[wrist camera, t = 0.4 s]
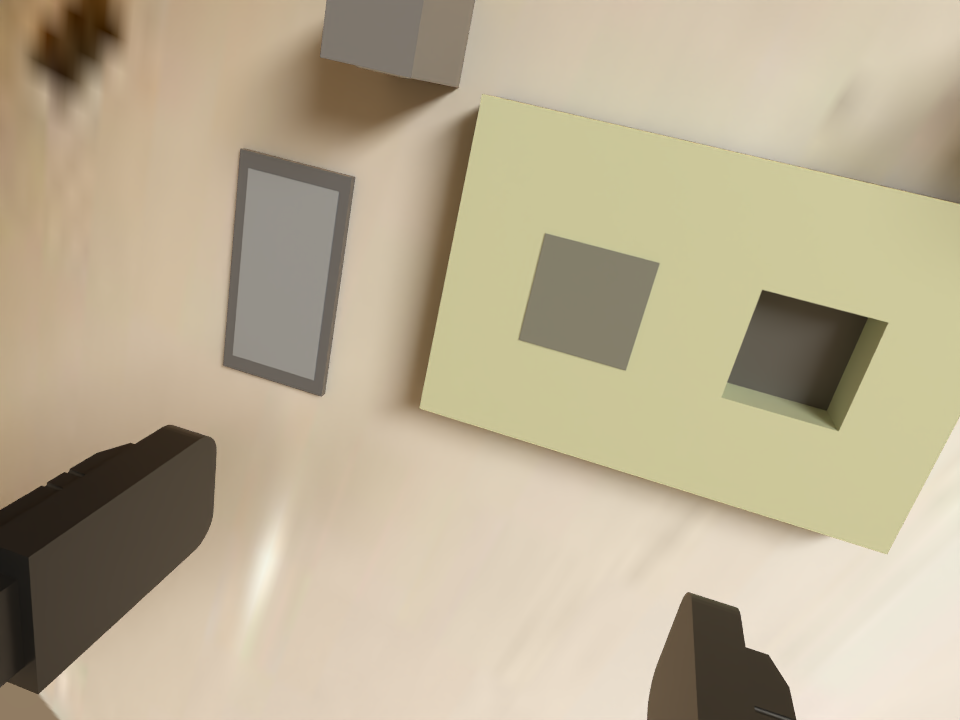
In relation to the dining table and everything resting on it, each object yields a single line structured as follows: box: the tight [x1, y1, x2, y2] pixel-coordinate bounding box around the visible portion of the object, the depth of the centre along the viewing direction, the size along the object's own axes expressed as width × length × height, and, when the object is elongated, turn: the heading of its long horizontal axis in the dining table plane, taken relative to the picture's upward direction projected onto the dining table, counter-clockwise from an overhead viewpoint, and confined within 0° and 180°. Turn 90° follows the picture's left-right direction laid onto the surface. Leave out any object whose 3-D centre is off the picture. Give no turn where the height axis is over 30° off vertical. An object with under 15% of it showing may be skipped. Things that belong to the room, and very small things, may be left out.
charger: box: [320, 0, 475, 88], centre depth 30 cm, size 4×4×7 cm
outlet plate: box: [419, 94, 960, 554], centre depth 33 cm, size 16×24×3 cm, turn 78°
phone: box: [223, 149, 355, 396], centre depth 39 cm, size 13×7×1 cm, turn 168°
